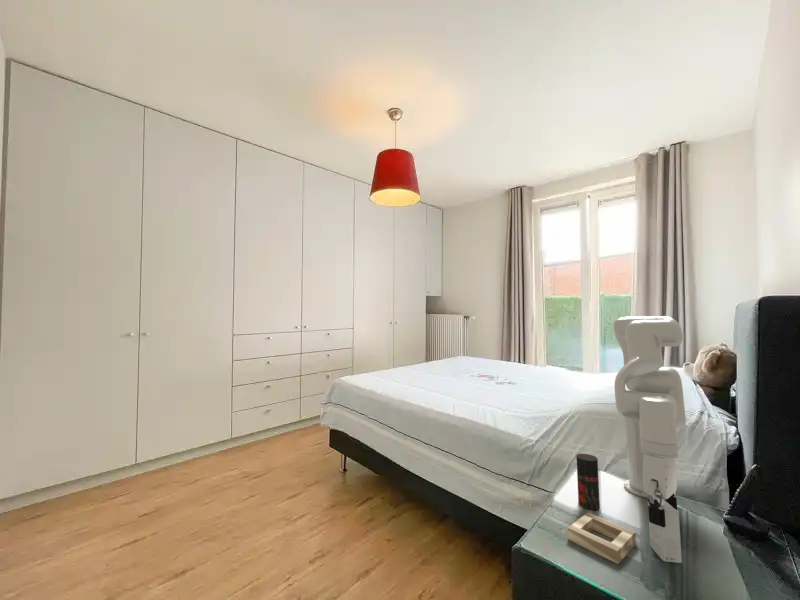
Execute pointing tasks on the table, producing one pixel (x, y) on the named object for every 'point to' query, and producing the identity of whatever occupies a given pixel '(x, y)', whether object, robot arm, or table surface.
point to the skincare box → (667, 536)
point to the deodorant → (588, 482)
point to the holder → (609, 550)
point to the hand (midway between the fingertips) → (663, 517)
